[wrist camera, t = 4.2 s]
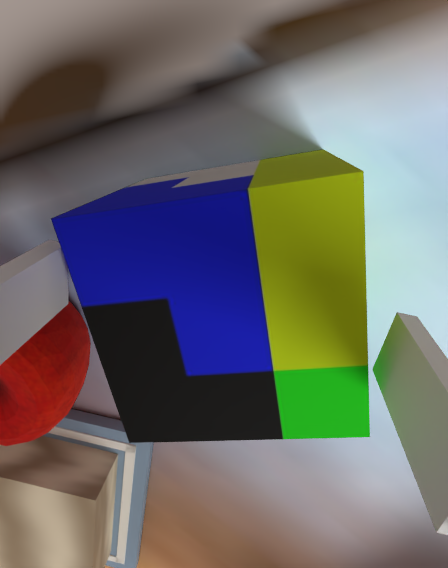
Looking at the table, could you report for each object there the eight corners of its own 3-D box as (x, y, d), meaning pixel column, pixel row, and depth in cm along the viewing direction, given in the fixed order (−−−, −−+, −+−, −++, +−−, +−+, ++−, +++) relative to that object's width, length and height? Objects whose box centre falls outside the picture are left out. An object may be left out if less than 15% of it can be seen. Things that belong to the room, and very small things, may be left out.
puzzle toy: (146, 178, 21) (50, 218, 12) (322, 149, 20) (363, 171, 10) (182, 327, 25) (128, 442, 16) (333, 314, 23) (369, 436, 14)
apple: (40, 387, 29) (-38, 472, 22) (-28, 291, 26) (-142, 353, 19) (136, 357, 27) (85, 443, 19) (73, 248, 24) (-14, 302, 17)
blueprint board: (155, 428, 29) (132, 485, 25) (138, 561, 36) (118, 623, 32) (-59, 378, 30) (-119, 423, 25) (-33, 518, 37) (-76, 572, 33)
